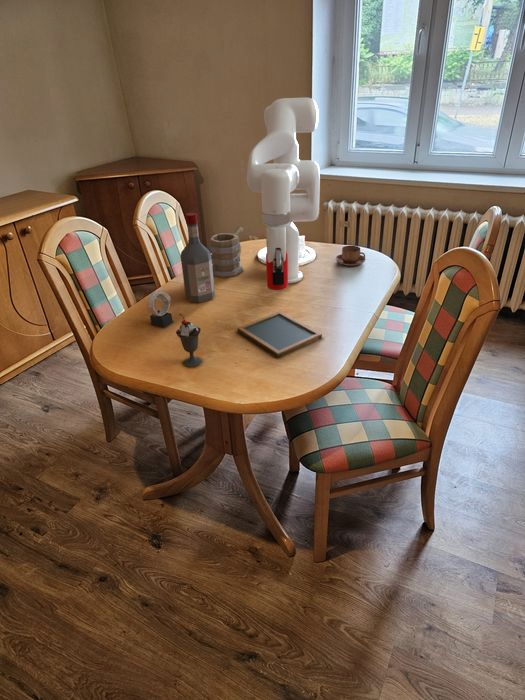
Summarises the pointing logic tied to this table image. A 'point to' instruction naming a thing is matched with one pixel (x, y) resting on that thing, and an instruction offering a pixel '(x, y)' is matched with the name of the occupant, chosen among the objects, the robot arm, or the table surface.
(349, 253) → the cup and saucer
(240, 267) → the tankard
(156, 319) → the ring sculpture on stand
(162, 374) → the table surface
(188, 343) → the sundae
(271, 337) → the chalkboard
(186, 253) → the liquor
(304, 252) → the dish
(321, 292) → the table surface
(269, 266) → the beverage can
